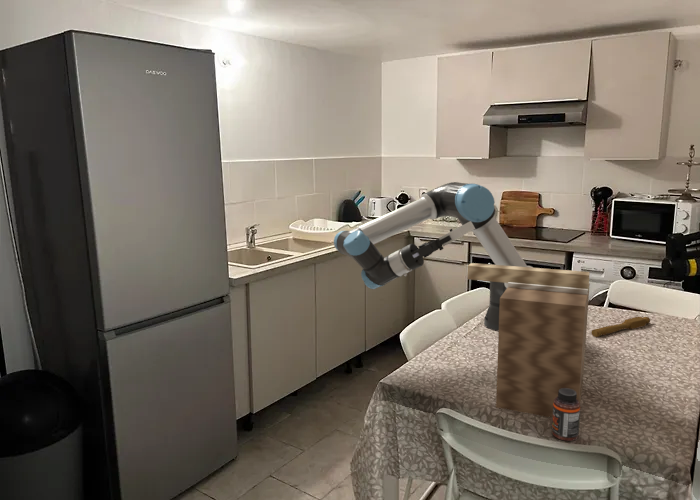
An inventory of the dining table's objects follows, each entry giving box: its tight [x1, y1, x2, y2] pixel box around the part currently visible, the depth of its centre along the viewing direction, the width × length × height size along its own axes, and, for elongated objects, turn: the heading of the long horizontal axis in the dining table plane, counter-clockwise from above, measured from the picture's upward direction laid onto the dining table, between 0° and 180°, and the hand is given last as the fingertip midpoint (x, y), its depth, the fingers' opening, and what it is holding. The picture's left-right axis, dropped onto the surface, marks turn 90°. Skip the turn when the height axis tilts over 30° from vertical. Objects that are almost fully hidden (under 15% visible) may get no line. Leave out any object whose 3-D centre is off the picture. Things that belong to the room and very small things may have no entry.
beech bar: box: [467, 262, 590, 289], centre depth 154 cm, size 32×4×4 cm, turn 65°
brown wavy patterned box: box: [495, 282, 591, 419], centre depth 150 cm, size 20×24×31 cm
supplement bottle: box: [551, 388, 581, 442], centre depth 131 cm, size 6×6×11 cm
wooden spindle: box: [590, 316, 651, 338], centre depth 204 cm, size 3×3×30 cm
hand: (467, 228), depth 159 cm, fingers open, 13 cm apart
